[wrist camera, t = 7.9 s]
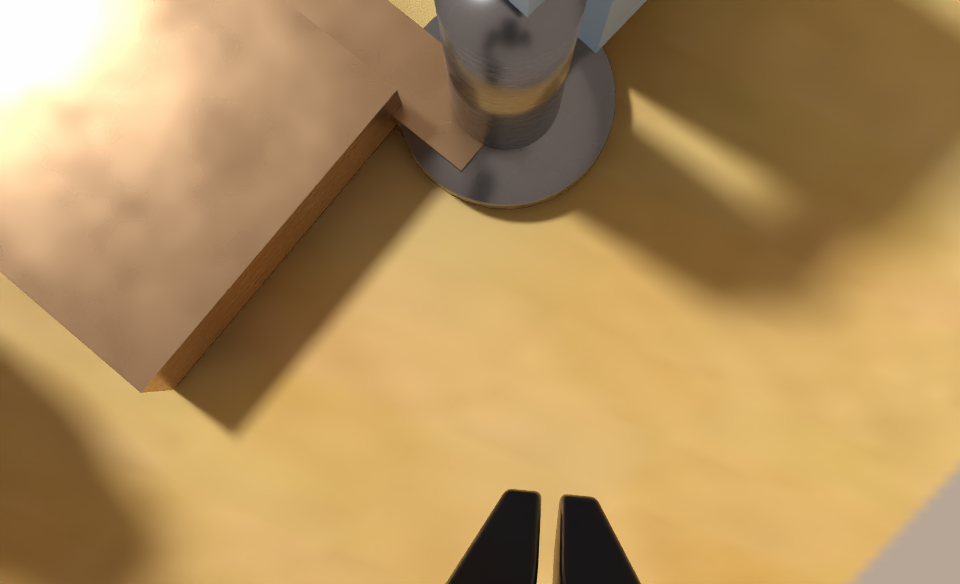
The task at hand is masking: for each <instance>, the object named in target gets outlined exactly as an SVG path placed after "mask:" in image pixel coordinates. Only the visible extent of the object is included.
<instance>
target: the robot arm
mask: <svg viewBox="0 0 960 584" xmlns="http://www.w3.org/2000/svg"><path fill="white" fill-rule="evenodd" d="M540 516H541V495H540V494H539V493H538V492H536V491H526V490H516V489H509V490H507V491H506V492H505V493H504V494H503V495H502V497H501V498H500V500H499V501H498V503H497V504H496V506H495V508H494V509H493V511H492V512H491V514H490V515H489V517H488V518H487V520H486V522H485V523H484V525H483V526H482V528H481V529H480V531H479V533H478V534H477V536H476V537H475V539H474V540H473V542H472V544H471V545H470V547H469V548H468V550H467V551H466V553H465V554H464V556H463V558H462V559H461V561H460V562H459V564H458V565H457V567H456V569H455V570H454V572H453V573H452V575H451V576H450V578H449V579H448V581H447V583H446V584H536V583H537V572H538V557H539V536H540ZM553 584H641V583H640V581H639V579H638V577H637V575H636V573H635V571H634V569H633V567H632V566H631V564H630V562H629V560H628V558H627V556H626V554H625V552H624V550H623V548H622V546H621V544H620V542H619V541H618V539H617V537H616V535H615V533H614V531H613V529H612V527H611V525H610V523H609V521H608V519H607V517H606V516H605V514H604V512H603V510H602V508H601V506H600V504H599V502H598V501H597V500H596V499H595V498H593V497H588V496H578V495H563V496H562V497H561V499H560V503H559V511H558V520H557V530H556V539H555V549H554V565H553Z"/></svg>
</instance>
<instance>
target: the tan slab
mask: <svg viewBox="0 0 960 584" xmlns="http://www.w3.org/2000/svg"><path fill="white" fill-rule="evenodd" d="M434 1H435V7H436V13H437V16H436V17H435V18H433V19H432V20H431V21H430V22H429V23H428V24H427V25H426V26H425V27H424V28H422V27H420V26H419V25H418V24H417V23H415V22H414V21H413V20H412V19H410V18H409V17H408V16H407V15H405V14H404V13H403V12H402V11H400V10H399V9H398V8H396V7H395V6H394V5H393V4H391V3H390V2H389V1H388V0H0V272H1V273H2V274H4V275H5V276H6V277H7V278H8V279H9V280H10V281H12V282H13V283H14V284H15V285H16V286H17V287H19V288H20V289H21V290H22V291H23V292H24V293H26V294H27V295H28V296H29V297H30V298H31V299H33V300H34V301H35V302H36V303H37V304H38V305H40V306H41V307H42V308H43V309H44V310H45V311H47V312H48V313H49V314H50V315H51V316H52V317H53V318H55V319H56V320H57V321H58V322H59V323H60V324H62V325H63V326H64V327H65V328H66V329H67V330H69V331H70V332H71V333H72V334H73V335H74V336H76V337H77V338H78V339H79V340H80V341H81V342H83V343H84V344H85V345H86V346H87V347H88V348H90V349H91V350H92V351H93V352H94V353H95V354H96V355H98V356H99V357H100V358H101V359H102V360H103V361H105V362H106V363H107V364H108V365H109V366H110V367H112V368H113V369H114V370H115V371H116V372H117V373H119V374H120V375H121V376H122V377H123V378H124V379H126V380H127V381H128V382H129V383H130V384H131V385H132V386H134V387H135V388H136V389H137V390H138V391H139V392H141V393H143V392H154V391H165V390H173V389H174V388H175V387H176V386H177V385H178V383H179V382H180V381H181V380H182V379H183V377H184V376H185V375H186V374H187V373H188V372H189V370H190V369H191V368H192V367H193V366H194V364H195V363H196V362H197V361H198V360H199V358H200V357H201V356H202V355H203V354H204V353H205V351H206V350H207V349H208V348H209V347H210V345H211V344H212V343H213V342H214V341H215V340H216V338H217V337H218V336H219V335H220V334H221V332H222V331H223V330H224V329H225V328H226V326H227V325H228V324H229V323H230V322H231V321H232V319H233V318H234V317H235V316H236V315H237V313H238V312H239V311H240V310H241V309H242V307H243V306H244V305H245V304H246V303H247V302H248V300H249V299H250V298H251V297H252V296H253V294H254V293H255V292H256V291H257V290H258V289H259V287H260V286H261V285H262V284H263V283H264V281H265V280H266V279H267V278H268V277H269V275H270V274H271V273H272V272H273V271H274V270H275V268H276V267H277V266H278V265H279V264H280V262H281V261H282V260H283V259H284V258H285V256H286V255H287V254H288V253H289V252H290V251H291V249H292V248H293V247H294V246H295V245H296V243H297V242H298V241H299V240H300V239H301V237H302V236H303V235H304V234H305V233H306V232H307V230H308V229H309V228H310V227H311V226H312V224H313V223H314V222H315V221H316V220H317V219H318V217H319V216H320V215H321V214H322V213H323V211H324V210H325V209H326V208H327V207H328V205H329V204H330V203H331V202H332V201H333V200H334V198H335V197H336V196H337V195H338V194H339V192H340V191H341V190H342V189H343V188H344V186H345V185H346V184H347V183H348V182H349V181H350V179H351V178H352V177H353V176H354V175H355V173H356V172H357V171H358V170H359V169H360V168H361V166H362V165H363V164H364V163H365V162H366V160H367V159H368V158H369V157H370V156H371V154H372V153H373V152H374V151H375V150H376V149H377V147H378V146H379V145H380V144H381V143H382V141H383V140H384V139H385V138H386V137H387V135H388V134H389V133H390V132H391V131H392V130H393V128H394V127H395V126H396V125H398V126H399V127H400V128H401V129H402V132H403V135H404V138H405V140H406V143H407V145H408V147H409V149H410V151H411V154H412V155H413V157H414V158H415V160H416V162H417V163H418V165H419V166H420V167H421V168H422V170H423V171H424V172H425V173H426V174H427V176H428V177H430V178H431V179H432V180H433V181H434V182H435V183H436V184H437V185H438V186H440V187H441V188H443V189H444V190H445V191H447V192H448V193H450V194H452V195H454V196H456V197H458V198H459V199H461V200H464V201H467V202H469V203H472V204H475V205H479V206H484V207H488V208H499V209H511V208H521V207H527V206H532V205H535V204H539V203H542V202H545V201H547V200H549V199H551V198H554V197H556V196H558V195H559V194H561V193H563V192H564V191H566V190H567V189H569V188H570V187H571V186H573V185H574V184H575V183H576V182H577V181H579V180H580V179H581V178H582V177H583V176H584V174H585V173H586V172H587V171H588V170H589V169H590V168H591V166H592V165H593V163H594V162H595V161H596V159H597V158H598V156H599V154H600V152H601V150H602V148H603V146H604V144H605V142H606V140H607V138H608V135H609V132H610V130H611V127H612V122H613V118H614V113H615V101H616V96H615V83H614V77H613V72H612V69H611V66H610V63H609V60H608V57H607V55H606V53H605V51H604V49H603V47H602V48H601V49H600V50H599V51H598V52H597V53H595V52H594V51H593V50H591V49H590V48H589V47H588V46H587V45H586V44H585V43H584V42H583V41H581V40H580V39H579V38H578V34H579V30H580V26H581V22H582V18H583V14H584V10H585V6H586V2H587V0H544V1H543V2H542V3H541V4H540V5H539V6H538V7H537V8H536V9H535V11H534V12H533V13H532V14H531V15H530V16H529V17H528V18H527V17H526V16H525V15H524V14H523V13H522V12H521V11H520V10H518V9H517V8H516V7H515V6H514V5H513V4H512V3H511V2H510V1H509V0H434Z"/></svg>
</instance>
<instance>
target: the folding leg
mask: <svg viewBox="0 0 960 584" xmlns="http://www.w3.org/2000/svg"><path fill="white" fill-rule="evenodd" d="M509 1H510V2H511V3H512V4H513V5H514V6H515V7H516V8H517V9H518V10H520V11H521V12H522V13H523V14H524V15H525V16H526V17H527V18H528V17H529V16H530V15H531V14H532V13H533V12H534V11H535V9H536V8H537V7H538V6H539V5H540V4H541V3H542V2H543V1H544V0H509ZM646 1H647V0H587V2H586V6H585V10H584V14H583V18H582V22H581V26H580V30H579V34H578V38H579V39H580V40H581V41H583V42H584V43H585V44H586V45H587V46H588V47H589V48H590V49H591V50H593V51H594V52H595V53H597V52H598V51H599V50H600V49H601V48H602V47H603V45H604V44H605V43H606V42H607V41H608V40H609V39H610V38H611V37H612V36H613V35H614V34H615V33H616V32H617V31H618V30H619V29H620V28H621V27H622V26H623V25H624V24H625V23H626V22H627V21H628V20H629V18H630V17H631V16H632V15H633V14H634V13H635V12H636V11H637V10H638V9H639V8H640V7H641V6H642V5H643V4H644V3H645V2H646Z"/></svg>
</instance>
